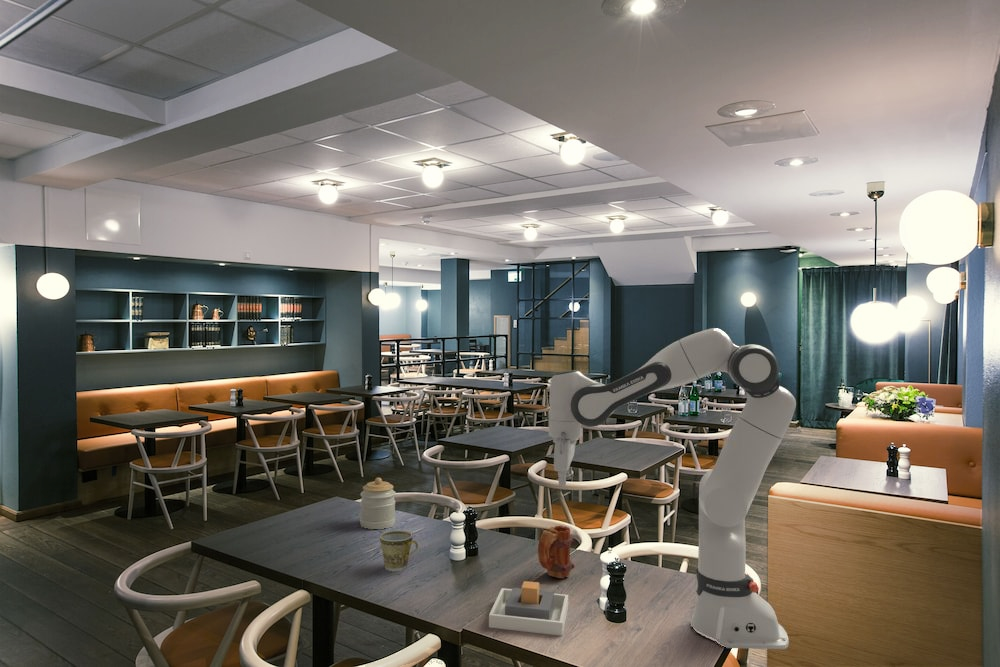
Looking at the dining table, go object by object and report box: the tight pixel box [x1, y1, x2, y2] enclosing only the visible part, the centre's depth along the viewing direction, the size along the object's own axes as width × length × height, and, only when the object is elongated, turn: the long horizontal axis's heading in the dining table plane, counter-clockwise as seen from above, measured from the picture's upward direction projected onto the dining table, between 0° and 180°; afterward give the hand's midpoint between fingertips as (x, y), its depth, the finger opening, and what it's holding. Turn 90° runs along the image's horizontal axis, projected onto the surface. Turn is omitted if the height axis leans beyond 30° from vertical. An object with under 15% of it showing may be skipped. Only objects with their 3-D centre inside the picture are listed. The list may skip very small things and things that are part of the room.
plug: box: [521, 580, 540, 604], centre depth 157 cm, size 4×4×8 cm
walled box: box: [488, 587, 569, 637], centre depth 157 cm, size 18×16×4 cm
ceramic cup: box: [379, 529, 419, 573], centre depth 189 cm, size 13×10×10 cm
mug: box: [537, 525, 575, 579], centre depth 184 cm, size 15×8×15 cm, turn 141°
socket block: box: [505, 587, 555, 620], centre depth 157 cm, size 11×11×4 cm
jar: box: [359, 477, 396, 530], centre depth 231 cm, size 13×13×18 cm
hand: (564, 480), depth 167 cm, fingers open, 8 cm apart
